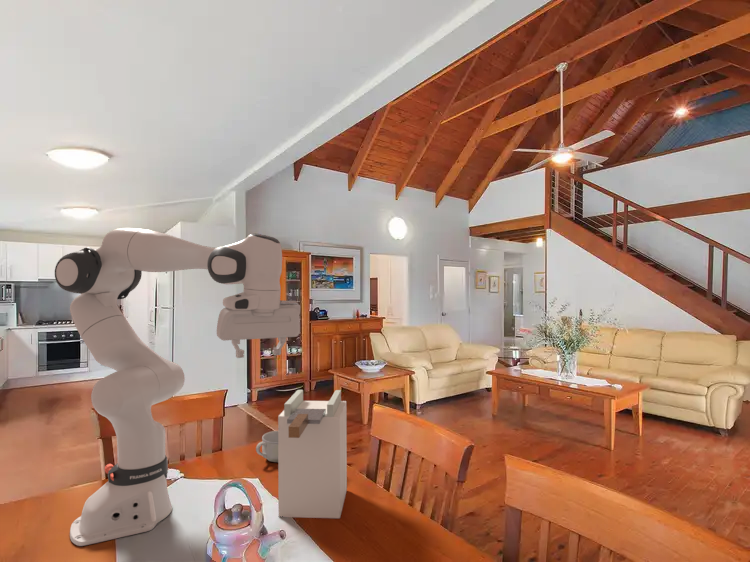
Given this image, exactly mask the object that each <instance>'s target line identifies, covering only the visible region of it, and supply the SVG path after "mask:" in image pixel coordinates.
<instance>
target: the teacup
mask: <svg viewBox="0 0 750 562" xmlns="http://www.w3.org/2000/svg"><path fill="white" fill-rule="evenodd" d="M261 440H262V441H260V442H258V443H257V444H256V447H255V451H256V453H257V455H259V456H261V457H263V458H264V459H266V460H267V461H268V462H271V463H278V430H272V431H269V432H266V433H264V434H263V435H262V437H261ZM261 450H262V451H261Z"/></svg>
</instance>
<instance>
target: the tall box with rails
mask: <svg viewBox="0 0 750 562" xmlns="http://www.w3.org/2000/svg"><path fill="white" fill-rule="evenodd" d="M283 405H284V406H283V407H284V408H283V410H282V412H280V413H279V414H278V417H277V425H278V430H277V431H278V462H277V463H278V465H277V468H278V469H277V472H278V476H277V478H278V482H277V483H278V489H277V490H278V492H277V493H278V494H277V495H278V504H277V505H278V517H279V516H281V517H280V518H306V519H307V518H309V519H312V518H313V519H315V518H316V519H341V515H342V512H343V508H344V503H345V499H346V496H347V495H346V494H347V491H348V486H347V485H348V484H347V477H348V475H347V474H348V471H347V468H348V466H347V465H348V464H347V463H348V462H347V459H348V457H347V452H348V449H347V446H348V445H347V444H348V443H347V437H348V436H347V435H348V433H347V428H348V427H347V401H346V400H342V390H341V389H336V390H334V392H333V394H332V396H331V397H330V399H329V400H304V390H303V389H297V390H295V392H294V393H293V394H292V395H291V397H289V399H288V400H287V401H285V403H284V404H283ZM295 409H326V413H325V415H324V417H323V419H322V421H321V422H320V424H308V425H307V426H306V428H305V430H304V431H303V433H302V434H301V436H300V438H289V426H290V424H287V419H288V418H289V416H290V415H291V414H292V413H293V412H294V410H295ZM282 516H283V517H282Z"/></svg>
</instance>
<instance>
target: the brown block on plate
mask: <svg viewBox="0 0 750 562" xmlns="http://www.w3.org/2000/svg"><path fill="white" fill-rule="evenodd" d="M325 413H326V409H295V410H294V412H293V413H292V414H291V415H290V416H289V418H288V419H287V424H290V426H289V438H300V436H301V434H302V433H303V431H304V430H305V428H306V426H307V425H308V424H320V422H321V421H322V419H323V417H324V415H325Z"/></svg>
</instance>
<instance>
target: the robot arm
mask: <svg viewBox="0 0 750 562" xmlns="http://www.w3.org/2000/svg"><path fill="white" fill-rule="evenodd" d="M198 269H199V270H207V271H208V275H209V276H210V277H211V279H212V280H213V281H215V282H216V283H218V284H223V285H240V284H243V291H242V292H239V293H237V294H233V295H229V296H227V297H224V298H223V299H222V305H223V306H224V308H222V309H221V310H220V312H219V315H218V317H217V325H216V326H217V327H216V336H217V338H219V339H220V340H221V341H225V342H226V341H231V344H232V346H233V348H234V350H235V357H236V358H237V359H241V358H242V359H243V358H244V357H245V355H244V354H245V350H244V349H242V348H240V347H239V345H240V344H241V341H242V340H258V339H259V340H260V339H262V340H263V339H275V338H276V339H277V341H278V342H277V345H276V346H272V347H273V348H272V350H273V351H272V354H273V355H274V356H280V355H281V354H282V348H283V347H284V345H285V344H286V343H287V338H295V337H296V338H297V337H298V336H299V335H300V333H301V322H300V321H301V320H300V315H301V305H300V303H298V302H297V301H296V300H281V294H282V293H281V290H282V289H281V283H280V278H281V275H282V273H283V250H282V245H281V242H280V241H279V239H277V238H275V237H273V236H271V235H266V234H261V233H250V234H249V235H247V237H245V238H244V239H242V240H239V241H237V242H234V243H231V244H227V245H224V246H219V247H212V246H205V245H201V244H199V243H194V242H192V241H188V240H187V239H182V238H179V237H176V236H173V235H170V234H168V233H164V232H160V231H157V230H152V229H146V228H136V227H121V228H120V227H119V228H115V229H111V230H109V232H107V233H106V234H105V235H104V237H103V238H102V243H101V245H100V247H98V248H96V249H94V248H92V247H90V246H88V247H87V246H86V247H84V248H82V249H80V250H78V251H73V252H70V253H67V254H65V255H63V256H62V257H61V258H59V260H58V261H57V262H56V265H55V267H54V278H55V282H56V283H57V286H59V287H60V288H61V289H62V290H63V291H67V292H69V293H73V294H79V295H77V296H76V297H75V298H74V299H73V300H72V301H71V302H70V304H69V305H70V306H69V312H70V315H71V318H72V321H73V323H74V325H75V328H76V330H77V332H78V334H79V335H80V337H81V339H82V340H83V342H84V344H85V346H86V347H87V349H88V350H89V352H90V353H91V355H92V356H93V358H94V360H95V361H96V362H97V363H98V364H100V365H102V366H104V367H108V368H110V369H113V370H115V372H112V373H110V374H108V375H106V376H104V377H101V378H100V379H98V381H96V383H95V384H94V386H93V387H92V391H91V394H90V399H91V405H92V407H93V409H94V410H95V411H96V412H97V413H98V414H99V415H101V416H102V417H105V418H106V419H107V420H108V421H109V422H110V424H111V425H112V427H113V430H114V432H115V433H114V434H115V436H116V437H115V438H116V449H117V451H116V453H117V456H116V457H117V463H116V464H114V465H113V464H112V463H108V464H106V465H105V466H104V471H105V474H107V480H108V481H106V482H105V483H104V484H103V485H102V486H101V487H100V488H98V489H97V490H96V491H95V492H94V493H92V494H91V495H90V496H89V497H87V499H86V501H85V502H84V504H83V508H82V511H81V515H80V516H79V517H77V518H76V519H75V520H74V521H73V522H72V523H71V525H70V528H69V538H70V541H71V542H72V543H73V544H74V545H76V546H77V547H83V546H88V545H93V544H99V543H102V542H106V541H110V540H115V539H119V538H124V537H128V536H132V535H137V534H141V533H145V532H149V531H152V530H153V529H154V528H156V526H157V525H158V524H159V523H160V522H161V521H162V520H164V519H165V518H167V517H168V516H169V515H170V514H171V512H172V511H173V505H172V501H171V499H170V494H169V490H168V489H169V488H168V485H167V484H168V483H167V478H168V474H169V472H168V471H169V470H168V469H169V466H168V464H169V463H168V462H169V461H168V456H167V454H166V428H165V426H164V425H163V424H162V423H160V422H159V421H157V420H154V417H153V413H152V406H155V405H156V404H159V403H162V402H165V401H167V400H169V399H171V398H172V397H174V396H175V395H176V394H177V393H179V392H180V391H181V390H182V389H183V387H184V385H185V380H186V379H185V378H186V377H185V373H184V370H183V368H182V367H181V366H180V365H179V364H178V363H176V362H173V361H171V360H168V359H167V358H164V357H163V356H162V355H159V354H158V353H157V352H155V351H154V350H153V349H152V348H150V347H149V346H148V345H147V344H146V343H144V341H142V339H141V338H140V337H139V335H138V334H137V333H136V331H135V330H134V329H133V327H132V325H131V323H129V321H128V319H127V318H126V317H125V315H124V314H123V312H122V311H121V309H120V308H119V306H118V300H124V299H126V298H127V297H129V296H128V295H130V293H131V292H133V291H134V290H135V289H136V288H137V286H138V285H139V283H140V282H141V279H142V272H146V273H165V272H176V271H185V270H198Z"/></svg>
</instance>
